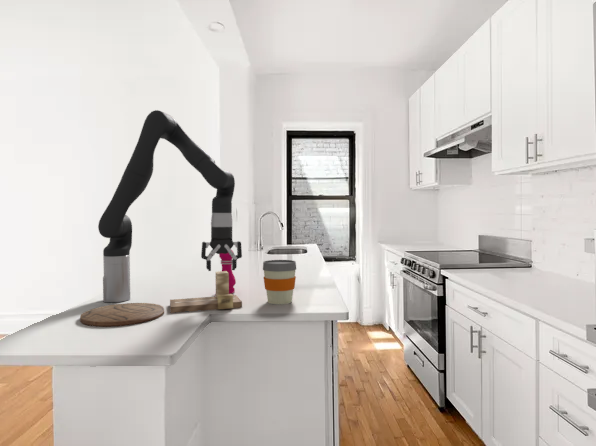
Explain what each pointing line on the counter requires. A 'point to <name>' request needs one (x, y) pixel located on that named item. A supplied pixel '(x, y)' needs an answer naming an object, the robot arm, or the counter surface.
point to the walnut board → (199, 304)
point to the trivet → (121, 314)
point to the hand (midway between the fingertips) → (221, 270)
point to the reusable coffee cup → (279, 280)
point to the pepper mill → (228, 270)
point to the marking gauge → (223, 290)
